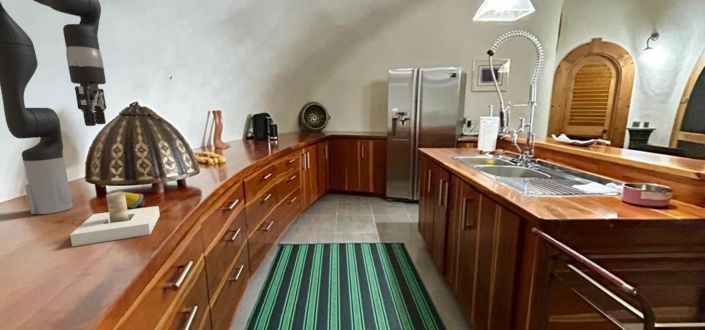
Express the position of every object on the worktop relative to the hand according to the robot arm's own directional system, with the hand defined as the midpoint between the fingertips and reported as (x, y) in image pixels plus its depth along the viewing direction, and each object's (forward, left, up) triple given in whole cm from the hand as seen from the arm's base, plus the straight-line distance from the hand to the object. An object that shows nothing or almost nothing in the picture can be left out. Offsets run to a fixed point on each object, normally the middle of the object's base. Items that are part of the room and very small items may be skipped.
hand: (96, 125), depth 88 cm
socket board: (+5, -12, -28) cm, 31 cm away
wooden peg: (+5, -12, -28) cm, 31 cm away
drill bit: (+4, +8, -28) cm, 30 cm away
